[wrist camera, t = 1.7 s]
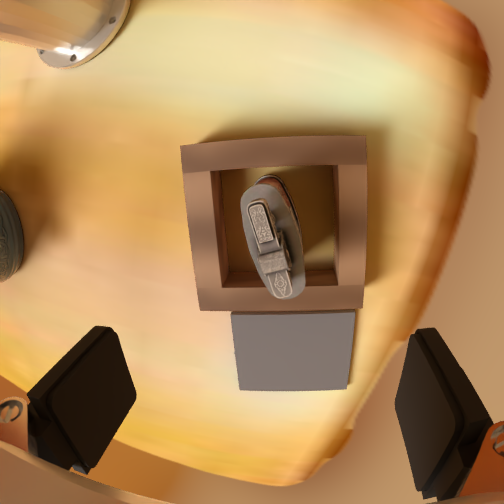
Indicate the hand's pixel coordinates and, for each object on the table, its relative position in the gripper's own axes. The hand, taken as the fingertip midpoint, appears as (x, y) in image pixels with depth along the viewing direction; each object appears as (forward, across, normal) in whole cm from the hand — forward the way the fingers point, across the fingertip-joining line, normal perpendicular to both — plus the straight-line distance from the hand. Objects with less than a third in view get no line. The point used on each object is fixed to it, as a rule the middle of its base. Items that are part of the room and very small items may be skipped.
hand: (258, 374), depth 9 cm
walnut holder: (+20, 0, -1) cm, 20 cm away
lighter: (+20, 0, -1) cm, 20 cm away
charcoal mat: (+20, -1, +13) cm, 24 cm away
